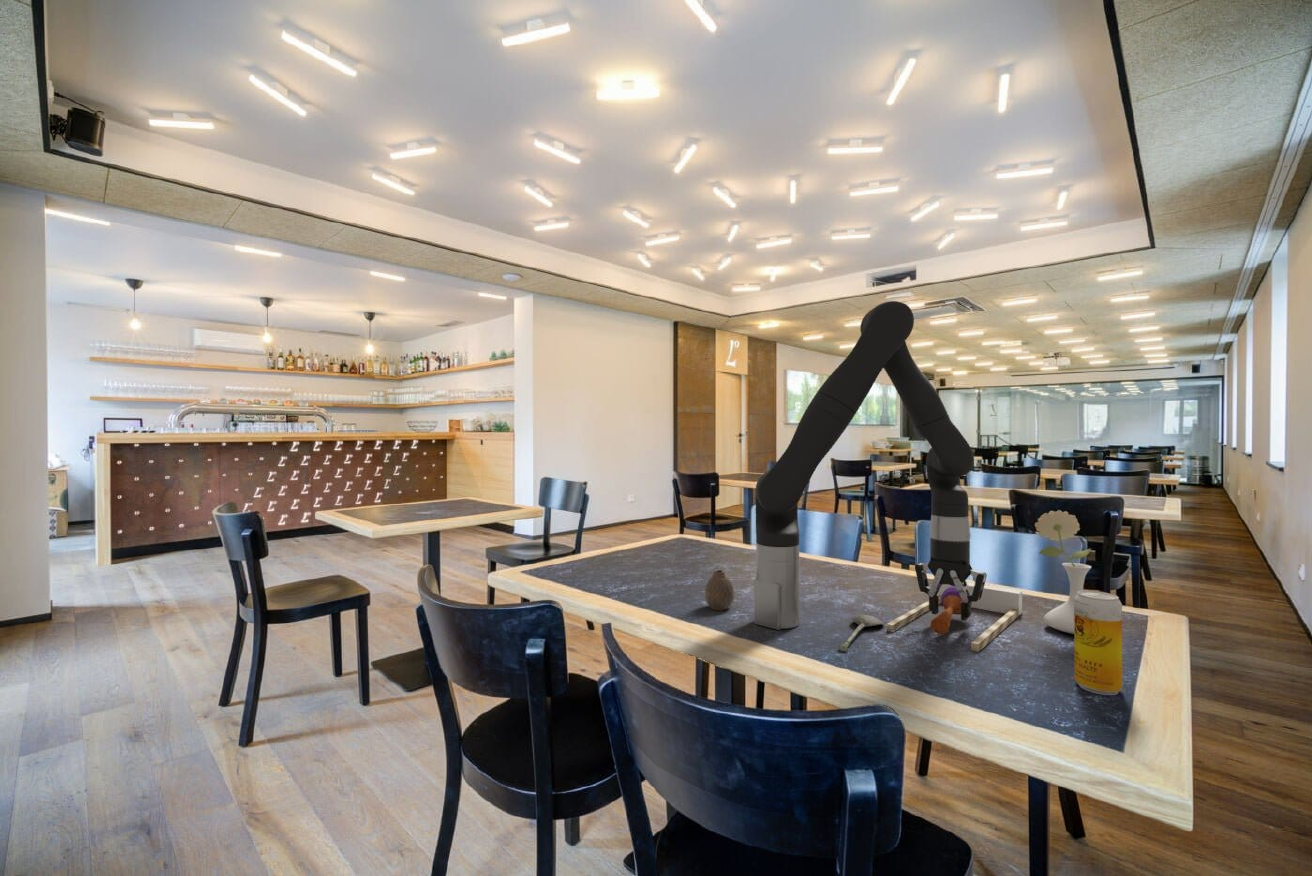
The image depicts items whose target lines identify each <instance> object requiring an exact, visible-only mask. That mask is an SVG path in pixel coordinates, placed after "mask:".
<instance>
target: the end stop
mask: <svg viewBox="0 0 1312 876" xmlns="http://www.w3.org/2000/svg"><path fill="white" fill-rule="evenodd" d="M963 584H964V583H963ZM967 585H968V587H969V592H970V594H971V595H972V593H973V589H974V585H975V583H973V582H972V583H971V582H967ZM949 587H953V586H951V585H949V584H942V586H941V587H940V589H939V592H938V594H937V596H938V595H941V596H942V594H943V592H944V591H945V590H946V589H947V588H949ZM955 587H956V586H955ZM971 608H974V609H978V610H979V609H980V610H984V611H991V612H995V613H1002V614H1006V613H1008V612H1009V611H1010V610H1011V609H1012V608H1015V609H1019V616H1021V615H1022V614H1023V591H1021V590H1016V589H1010V588H1003V587H998V586H990V585H984V589H983V593H982V597H981V599H980V600H978V601H976V602H972V605H971ZM1021 613H1022V614H1021Z"/></svg>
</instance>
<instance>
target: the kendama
mask: <svg viewBox="0 0 1312 876" xmlns="http://www.w3.org/2000/svg"><path fill="white" fill-rule="evenodd" d="M941 602H942V603H941V604H942V606H943V609H944V610H943V611H941V613H940V614H939V613H938V614H937V616H936V617H934V618H933V619H932V620H931V621H930V627H931V630H932V631H934V633H936V634H938V635H945V634H947V633H948V632H949V630H950V627H951V621H952V618H953V617H952V616H953V615H960V616H961V602H962V599H961V596H960V594H959V592H958V591H957V589H956V587H955V586H953V587H949V588H947V589H946V590H945V591H944V592H943V594H942V596H941ZM971 605H972V602H971Z"/></svg>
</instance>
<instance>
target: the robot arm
mask: <svg viewBox="0 0 1312 876" xmlns="http://www.w3.org/2000/svg"><path fill="white" fill-rule="evenodd" d="M914 323H915V318H914V313H913V311H912V309H911V307H910V306H909V305H908V304H907V303H905V302H903V301H899V300H888V301H884V302H882V303H880V304H878V305H876V306H875V307H873V308H872V309H870V310H869V311H868V312H867V313H865V315H864V316H863V317H862V319H861V323H860V336H859V338H858V340H857V342H856V343H855V345H854V346H853V348H852V349H851V351H850V352H849V354H848V355H847V356H846V358H845V359H843V360H842V362H841V363H840V364H839V365H838V366H837V367H836V368H835V370H833V372H832V373H831V374H830V375H829V376H828V377H827V378H826V379H825V381H824V382H823V383H822V384H821V386H820V388H819V389H818V390H817V392H816V393H815V394H814V396H813V398H812V399H811V401H810V402H809V404H808V406H807V407H806V408H805V410H804V413H803V414H802V416H801V419H800V420H799V422H798V424H797V427H796V430H795V431H794V434H793V436H792V438H791V440H790V441H789V442H790V443H789V444H788V446H787V447H786V449H785V451H784V452H783V454H781V456H780V457H779V459H778V460H777V461H776V463H775V464H774V465H773V466H772V468H771V469H770V470H768V471H766V472H764V473H763V474H761V476H760V477H759V478H758V479H757V482H756V486H755V545H756V546H755V547H756V549H755V551H756V552H755V555H756V556H755V573H756V575H755V577H756V579H754V580H753V589H754V590H753V592H754V593H753V599H754V600H753V607H754V608H753V617H754V618H753V620H754V621H753V623H754V624H755V625H759V626H763V627H767V628H770V629H773V630H782V629H792V628H796V627H797V626H799V625H800V530H799V519H798V517H799V513H798V511H799V507H798V505H799V502H800V500H801V498H802V497H803V496H802V495H803V494H804V491H805V489H806V488H807V486H808V483H810V481H811V478H812V477H813V474H815V471H816V469H817V468H818V466H819V464H820V463H821V462H822V461H823V459H824V458H825V457H826V455H827V454H828V453H829V452H830V451H831V450H832V448H833V447H834V445H835V444H836V443H837V441H838V440H839V438H841V436H842V435H843V433H844V432H845V431H846V429H847V427H849V424H851V421H852V420H853V419H854V418H855V416H856V414H857V412H858V411H859V410H860V407H861V406H862V404H863V402H864V401H865V400H866V397H867V396H868V394H869V393H870V391H871V389H872V387H873V386H874V383H875V382H876V380H877V379H878V376H879V375H880V374H881V372H882V371H883V370H884V371H885V373H886V374H887V376H888V377H889V380H890V381H891V383H892V385H893V386H894V388H895V390H896V393H898V396H899V398H900V400H901V403H902V404H903V406H904V409H905V410H906V412H907V415H908V417H909V419H910V421H911V423H912V425H913V427H914V429H915V432H916V433H917V435H919V436H920V438H923V439H925V440H926V441H927V443H928V444H929V445H930V448H929V450H928V452H927V453H926V454H927V455H926V457H925V458H926V460H925V468H926V470H925V471H926V474H927V480H928V485H929V488H930V493H931V499H930V500H931V501H930V502H931V505H930V506H931V515H930V516H931V517H930V523H929V539H930V540H929V545H930V546H929V561H928V563H923V562H920V563H917V564H915V566H914V569H915V574H916V579H917V583H918V587H919V588H918V589H919V591H920V592H921V593H924V594H926V595H928V601H929V612H931V614H932V615H934V616H935V615H939V610H940V609H939V606H940V604H939V596H938V592H939V589H940V587H941V586H942V584H949V585H951V586H956V589H957V591H958V592H959V594H960V596H961V599H962V602H961V614H960V620H961V621H967V620H968V619H969V618H970V617H971V615H972V607H971V602H976V601H978V600H980V599H981V597H982V593H983V589H984V585H985V583H986V580H987V575H988V574H987V573H986V572H985V571H981V572H980V571H979V570H974V569H973V568H972V566H971V561H970V559H971V554H970V553H971V545H970V544H971V543H970V542H971V540H970V539H971V526H970V519H969V495H968V492H967V491H966V489H964V488H963V487H962V484H961V480H960V477H963V476H965V475H968V474H969V473H970V472H971V470H973V468H974V466H975V465H974V464H975V456H974V452H973V450H972V447H971V446H970V444H969V442H968V441H967V439H966V438H965V437H964V436H963V434H962V433H961V431H960V430H959V429H958V427H957V426H956V425H955V424H954V422H953V421H952V420H951V418H950V416H949V413H948V411H947V409H946V407H945V405H944V403H943V401H942V399H941V397H940V395H939V393H938V391H937V390H936V388H935V387H934V385H933V384H932V383H931V382H930V380H929V379H928V378H927V376H926V375H925V374H924V373H923V371H921V369H920V367H919V366H918V365H917V364H916V362H915V360H914V358H913V357H912V355H911V352H910V351H909V347H908V346H907V342H906V340H907V339H908V338H909V336H910V335H911V333H912V331H913V329H914ZM929 571H930V573H931V574H932V575H933V577H934V578H933V580H932V582H931V583H930V586H929V580H928V576H927V573H929ZM970 576H972V581H973V582H974V584H975V585H974V589H973V593H972V595H971V594H970V592H969V587H968V585H967V583H968V582H967V580H968V578H969V577H970ZM963 583H964V584H963ZM985 586H986V585H985Z"/></svg>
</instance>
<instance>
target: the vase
mask: <svg viewBox="0 0 1312 876" xmlns="http://www.w3.org/2000/svg"><path fill="white" fill-rule="evenodd" d="M704 597H705V601H706V604H707V606H709V607H710V608H711V609H712V610H715V611H726V610H728V609H729V608H730V607H731V606H732V604H733V603H734V598H735V588H734V586H733V582H732V580H730V578H729V577H728V576H727V573H726V571H725V570H723V569H716V570H714V571H713V574H711V576H710V578H709V579H708V580H707V583H706V585H705V589H704Z"/></svg>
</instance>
